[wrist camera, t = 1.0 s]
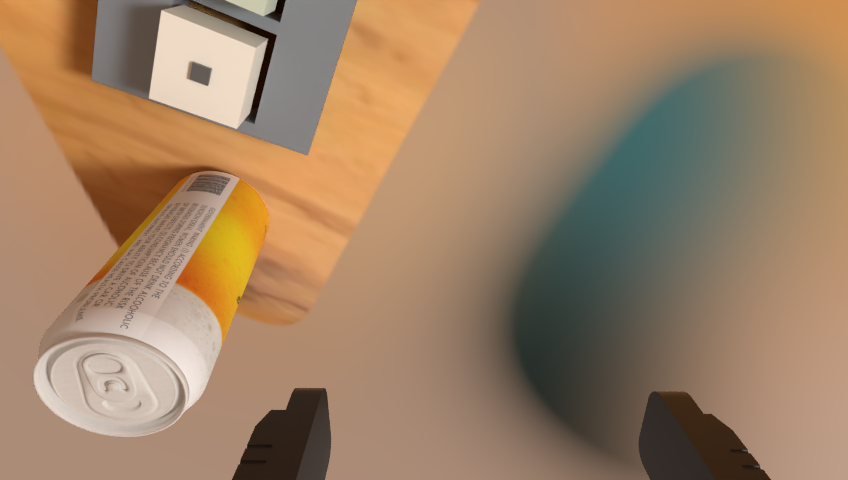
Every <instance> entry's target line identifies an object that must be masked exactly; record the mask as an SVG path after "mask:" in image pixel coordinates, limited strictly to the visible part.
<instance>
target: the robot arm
mask: <svg viewBox="0 0 848 480" xmlns="http://www.w3.org/2000/svg"><path fill="white" fill-rule="evenodd" d="M330 449H331V431H330V421H329V410H328V400H327V392H326V389H325V388H295V389H294V391H293V392H292V395H291V397H290V400H289V403H288V406H287V409H286V410H271V411H270V412H269V413H268V414H267V415H266V416H265V417H264V418H263V419H262V420H261V421H260V422H259V423H258V424H257V425H256V426H255V429H254V431H253V433H252V435H251V438H250V440H249V442H248V444H247V449H245V452H244V454H243V456H242V458H241V462H240V465H238V467H237V469H236V472H235V474H234V476H233V479H232V480H325V476H326V472H327V467H328V463H329V458H330ZM639 452H640V457H641V461H642V464H643V466H644V468H645V470H646V472H647V474H648V476H649V478H650V480H771V479H770V478H769V477H768V475H767V474H766V473H765V471H764V470H761V469H760V465H759V464H758V462H757V461H756V460H755V459H754V457H753V456H752V455H751V454H749V453H748V451H747V448H746V447H745V446H744V445H743V443H742V442H741V441H740V439H739V438H738V437H737V435H736V434H735V433H734V431H733V430H731V429H730V428H729V427H727V426H726V425H725V424H724V423H722V422H721V421H720V420H718V419H717V418H716V417H715V416H713V415H712V414H703V412H702V411H701V410H700V408H699V407H698V406H697V404H696V403H695V402H694V400H693V399H692V397H691V396H690V395H689V394H688V393H686V392H652V393H651V394H650V396H649V399H648V403H647V407H646V411H645V415H644V419H643V423H642V428H641V432H640V436H639Z"/></svg>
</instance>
